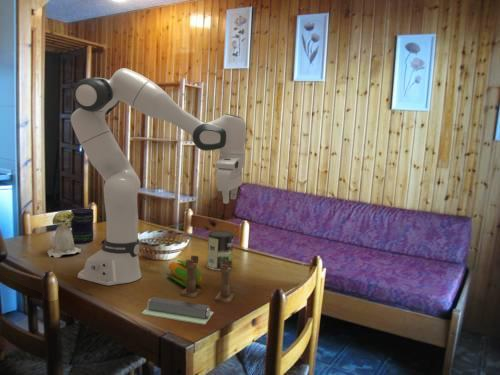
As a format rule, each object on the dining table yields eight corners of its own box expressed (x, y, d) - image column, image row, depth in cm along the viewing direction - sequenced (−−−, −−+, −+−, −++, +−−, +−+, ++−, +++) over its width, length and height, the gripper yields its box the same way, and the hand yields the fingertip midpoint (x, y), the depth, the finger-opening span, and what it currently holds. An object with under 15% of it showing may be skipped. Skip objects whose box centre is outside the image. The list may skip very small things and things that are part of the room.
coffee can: (234, 264, 172) (236, 231, 170) (228, 272, 162) (230, 237, 160) (211, 261, 174) (212, 229, 172) (203, 269, 164) (205, 234, 162)
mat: (141, 314, 122) (141, 312, 122) (153, 303, 130) (153, 302, 129) (205, 324, 118) (205, 323, 117) (213, 313, 125) (213, 311, 125)
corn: (190, 271, 139) (160, 255, 153) (188, 292, 139) (159, 275, 154) (208, 268, 144) (177, 253, 158) (205, 289, 144) (175, 272, 159)
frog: (86, 254, 174) (86, 212, 172) (55, 260, 164) (56, 215, 162) (72, 247, 182) (73, 207, 179) (43, 253, 172) (42, 210, 170)
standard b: (214, 300, 135) (216, 264, 133) (220, 293, 140) (221, 259, 139) (229, 302, 133) (231, 266, 132) (234, 295, 139) (236, 260, 138)
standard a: (180, 295, 137) (181, 259, 135) (187, 288, 143) (188, 254, 141) (194, 297, 136) (196, 261, 134) (200, 290, 142) (202, 256, 140)
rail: (146, 309, 124) (147, 300, 124) (151, 305, 127) (151, 296, 127) (207, 319, 120) (207, 309, 120) (210, 315, 123) (210, 305, 122)
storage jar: (88, 245, 187) (88, 213, 185) (66, 243, 187) (66, 211, 185) (96, 239, 197) (96, 208, 195) (76, 238, 197) (76, 207, 195)
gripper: (230, 159, 153) (229, 196, 155) (214, 163, 133) (212, 204, 135) (247, 160, 151) (245, 197, 153) (233, 164, 132) (230, 206, 133)
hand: (229, 201), depth 144 cm, fingers open, 8 cm apart
